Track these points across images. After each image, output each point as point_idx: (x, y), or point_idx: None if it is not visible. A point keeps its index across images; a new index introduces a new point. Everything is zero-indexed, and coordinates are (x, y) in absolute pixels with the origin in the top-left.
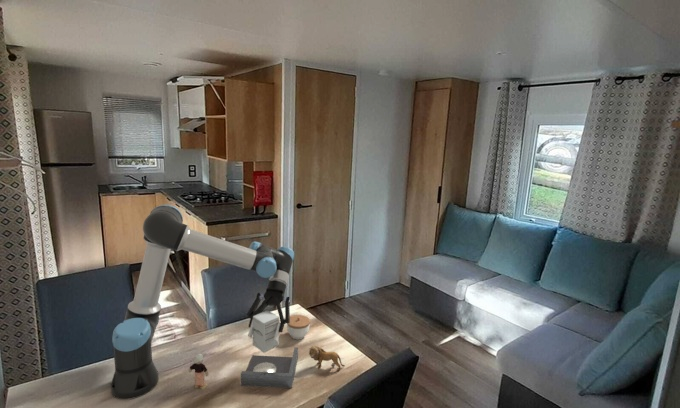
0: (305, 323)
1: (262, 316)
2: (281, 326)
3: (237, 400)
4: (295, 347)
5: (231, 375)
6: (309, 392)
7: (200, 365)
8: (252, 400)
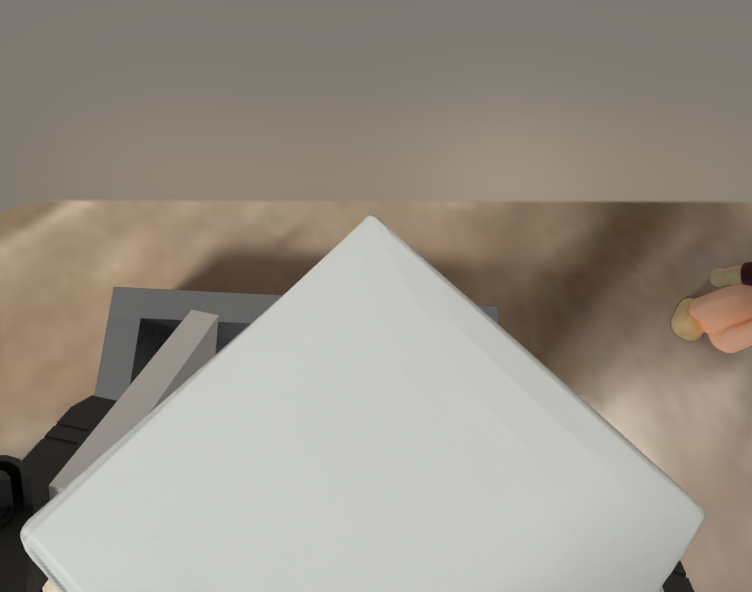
0: None
1: (466, 504)
2: (53, 453)
3: (457, 215)
4: None
5: None
6: (31, 278)
7: None
8: (375, 215)
